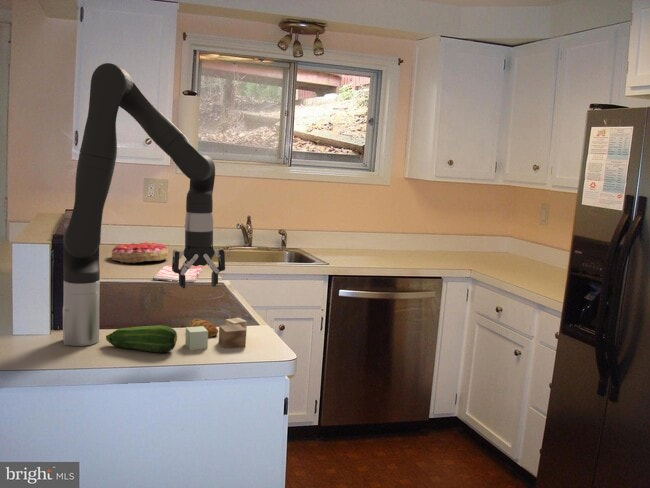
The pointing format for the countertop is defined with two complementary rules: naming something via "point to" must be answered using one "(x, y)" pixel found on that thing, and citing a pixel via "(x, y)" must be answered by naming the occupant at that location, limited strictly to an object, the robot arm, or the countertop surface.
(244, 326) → the birch block
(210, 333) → the pastry
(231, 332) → the walnut block
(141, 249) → the cake
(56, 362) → the countertop surface
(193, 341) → the sage cube
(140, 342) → the vegetable
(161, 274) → the dish towel
